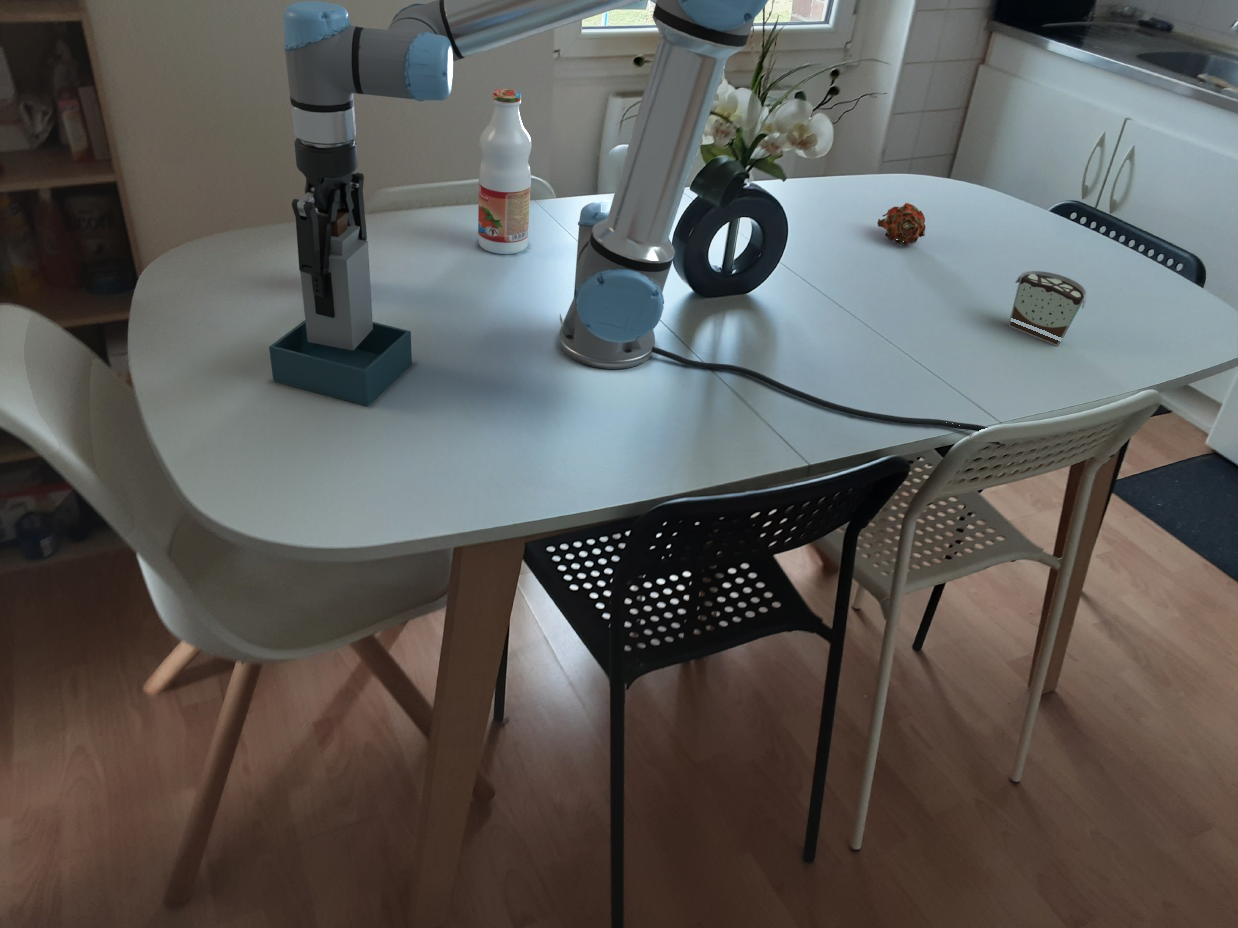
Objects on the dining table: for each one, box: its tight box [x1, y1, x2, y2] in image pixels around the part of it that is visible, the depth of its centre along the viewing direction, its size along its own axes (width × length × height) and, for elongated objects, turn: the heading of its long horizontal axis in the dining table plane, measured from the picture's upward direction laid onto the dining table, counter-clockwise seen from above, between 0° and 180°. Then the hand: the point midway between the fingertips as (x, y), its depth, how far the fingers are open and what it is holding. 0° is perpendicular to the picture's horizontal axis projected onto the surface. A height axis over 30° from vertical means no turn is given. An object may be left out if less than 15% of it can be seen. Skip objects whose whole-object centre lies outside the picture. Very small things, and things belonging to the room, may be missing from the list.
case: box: [268, 319, 413, 407], centre depth 140 cm, size 15×13×6 cm
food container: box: [1007, 270, 1088, 347], centre depth 172 cm, size 12×6×10 cm, turn 47°
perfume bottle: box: [299, 210, 374, 351], centre depth 132 cm, size 7×7×18 cm
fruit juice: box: [477, 88, 532, 255], centre depth 175 cm, size 9×9×28 cm
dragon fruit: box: [877, 202, 926, 246], centre depth 202 cm, size 8×8×12 cm
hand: (338, 305), depth 135 cm, fingers closed on perfume bottle, 6 cm apart
